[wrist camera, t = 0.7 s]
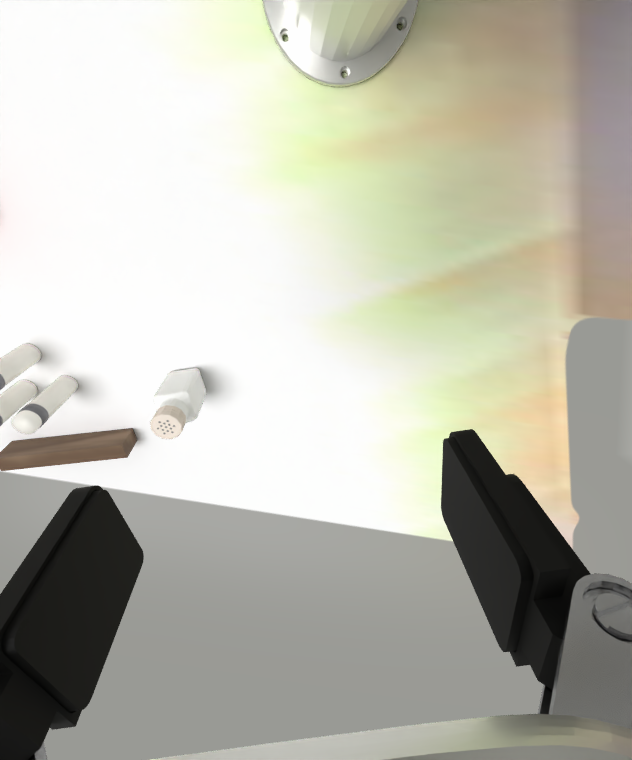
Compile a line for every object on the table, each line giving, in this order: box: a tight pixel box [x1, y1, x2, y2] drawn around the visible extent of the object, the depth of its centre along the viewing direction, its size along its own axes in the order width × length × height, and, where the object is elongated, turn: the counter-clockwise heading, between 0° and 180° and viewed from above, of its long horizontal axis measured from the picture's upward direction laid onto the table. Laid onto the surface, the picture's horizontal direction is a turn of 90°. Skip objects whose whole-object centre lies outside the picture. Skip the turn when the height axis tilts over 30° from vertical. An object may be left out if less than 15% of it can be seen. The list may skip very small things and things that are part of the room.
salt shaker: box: [150, 368, 206, 439], centre depth 42 cm, size 4×4×10 cm
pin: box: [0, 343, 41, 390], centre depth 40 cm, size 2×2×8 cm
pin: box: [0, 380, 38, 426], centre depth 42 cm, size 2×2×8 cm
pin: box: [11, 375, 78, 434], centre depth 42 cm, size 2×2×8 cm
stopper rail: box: [0, 428, 137, 471], centre depth 48 cm, size 2×16×4 cm, turn 95°
